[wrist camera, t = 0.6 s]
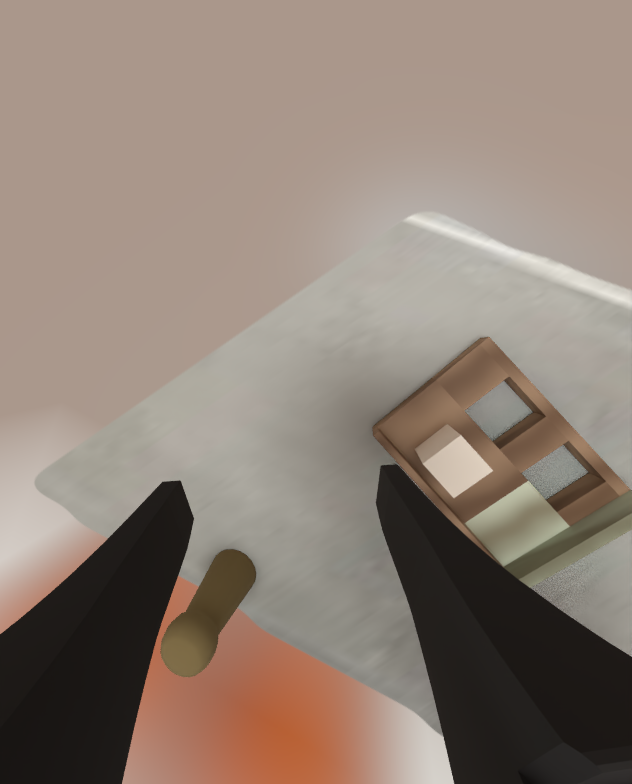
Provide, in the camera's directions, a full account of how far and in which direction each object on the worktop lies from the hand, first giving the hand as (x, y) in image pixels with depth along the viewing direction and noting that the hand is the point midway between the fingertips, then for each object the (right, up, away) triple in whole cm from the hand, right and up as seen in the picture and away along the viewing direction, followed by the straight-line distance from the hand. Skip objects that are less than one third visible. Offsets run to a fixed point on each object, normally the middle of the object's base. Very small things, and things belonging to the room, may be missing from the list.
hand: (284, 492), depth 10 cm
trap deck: (+19, -3, +19) cm, 27 cm away
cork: (-9, -19, +26) cm, 34 cm away
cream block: (+14, -2, +17) cm, 22 cm away
